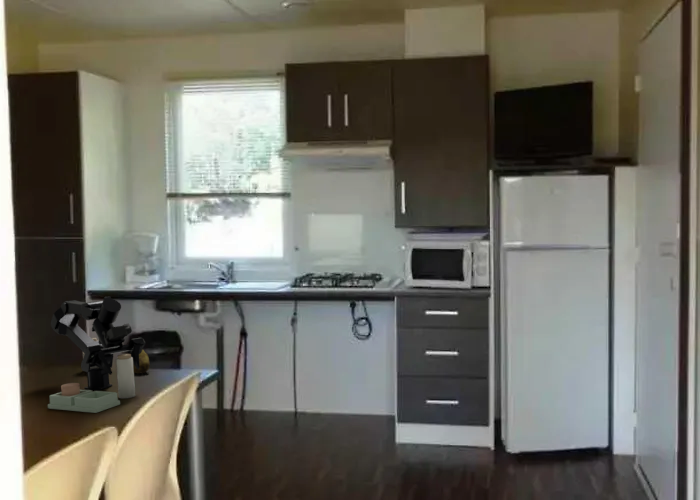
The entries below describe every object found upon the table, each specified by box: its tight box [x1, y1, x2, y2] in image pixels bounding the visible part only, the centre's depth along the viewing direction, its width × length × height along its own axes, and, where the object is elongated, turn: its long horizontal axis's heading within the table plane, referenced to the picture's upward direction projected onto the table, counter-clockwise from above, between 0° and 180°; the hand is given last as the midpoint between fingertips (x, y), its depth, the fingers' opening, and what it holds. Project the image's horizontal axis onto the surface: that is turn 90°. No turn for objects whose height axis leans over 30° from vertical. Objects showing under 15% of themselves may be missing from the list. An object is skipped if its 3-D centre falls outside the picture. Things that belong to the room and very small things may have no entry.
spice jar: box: [115, 353, 136, 399], centre depth 253 cm, size 5×5×13 cm
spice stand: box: [47, 382, 121, 414], centre depth 243 cm, size 19×10×6 cm, turn 63°
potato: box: [133, 349, 151, 374], centre depth 291 cm, size 8×13×8 cm, turn 11°
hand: (125, 371), depth 253 cm, fingers open, 9 cm apart
